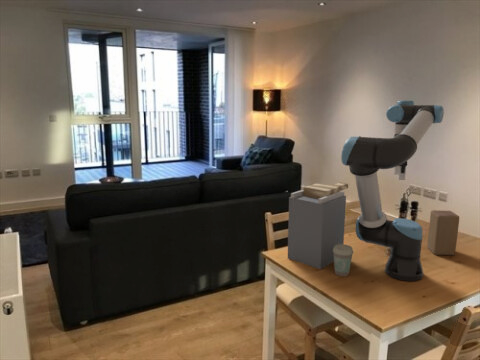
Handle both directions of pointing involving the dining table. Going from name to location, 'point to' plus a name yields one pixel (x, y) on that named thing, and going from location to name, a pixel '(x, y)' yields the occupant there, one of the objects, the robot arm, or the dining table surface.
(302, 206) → the charcoal plinth
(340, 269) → the coffee cup
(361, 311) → the dining table surface
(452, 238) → the wooden block
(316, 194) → the oak board
